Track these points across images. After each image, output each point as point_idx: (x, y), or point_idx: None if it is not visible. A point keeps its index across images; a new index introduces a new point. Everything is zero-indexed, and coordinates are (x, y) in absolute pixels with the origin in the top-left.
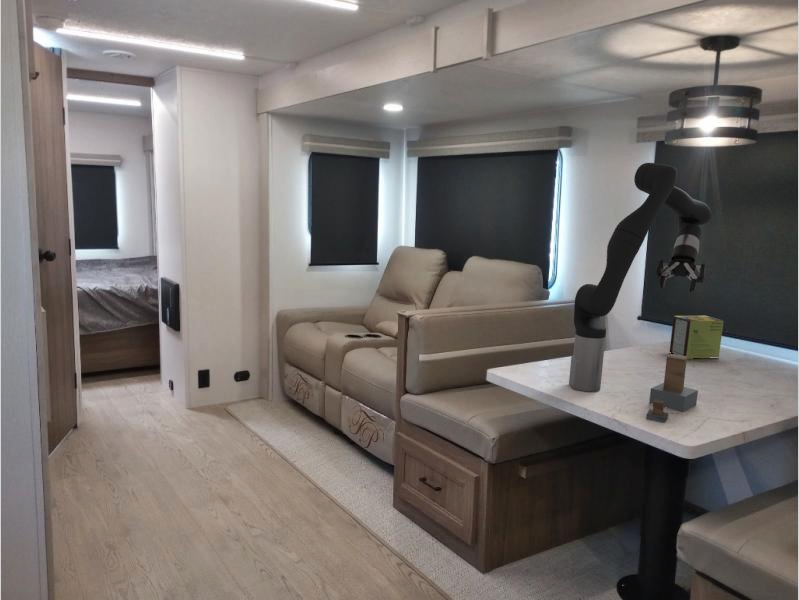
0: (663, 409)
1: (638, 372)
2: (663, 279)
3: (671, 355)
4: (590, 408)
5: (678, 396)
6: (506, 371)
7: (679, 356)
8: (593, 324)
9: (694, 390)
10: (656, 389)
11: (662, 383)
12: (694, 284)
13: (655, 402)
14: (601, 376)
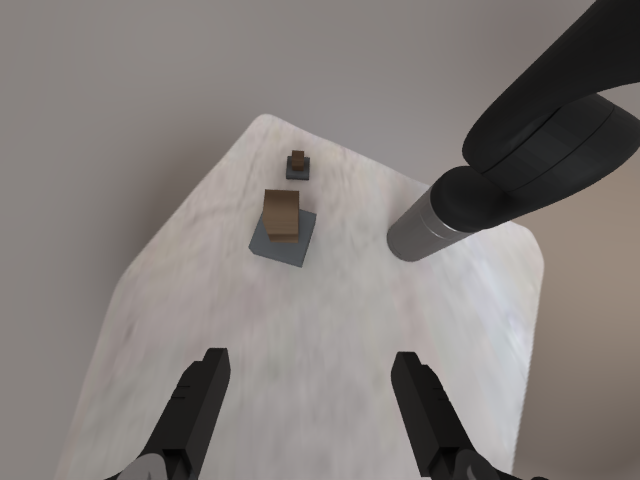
0: (292, 166)
1: (364, 413)
2: (431, 402)
3: (291, 209)
4: (372, 163)
5: None
6: (528, 251)
7: (276, 210)
8: (471, 180)
9: (253, 242)
10: (308, 212)
11: (304, 252)
12: (181, 396)
13: (301, 151)
14: (395, 235)
